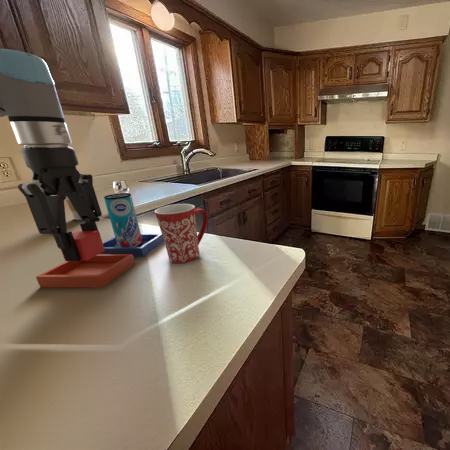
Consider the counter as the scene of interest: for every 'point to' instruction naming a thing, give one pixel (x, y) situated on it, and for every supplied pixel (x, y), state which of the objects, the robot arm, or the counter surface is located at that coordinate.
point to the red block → (88, 244)
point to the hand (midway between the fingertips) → (85, 254)
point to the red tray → (86, 271)
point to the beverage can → (123, 220)
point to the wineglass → (120, 187)
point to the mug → (181, 231)
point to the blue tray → (148, 245)
